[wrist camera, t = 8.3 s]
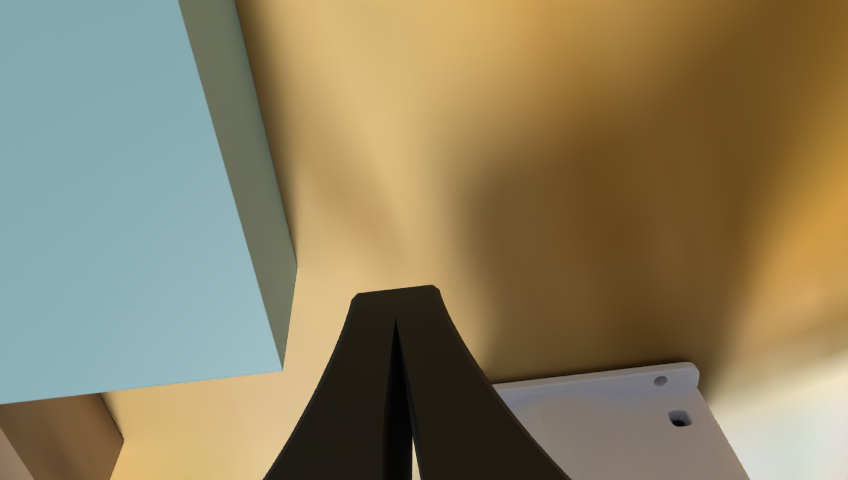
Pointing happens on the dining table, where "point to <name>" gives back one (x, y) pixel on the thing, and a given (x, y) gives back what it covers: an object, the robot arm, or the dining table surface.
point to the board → (58, 439)
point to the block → (135, 200)
